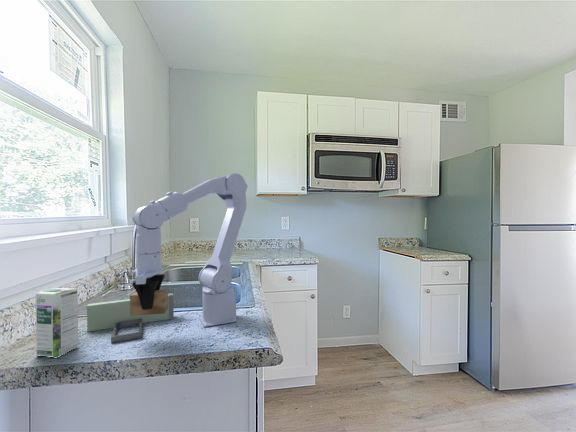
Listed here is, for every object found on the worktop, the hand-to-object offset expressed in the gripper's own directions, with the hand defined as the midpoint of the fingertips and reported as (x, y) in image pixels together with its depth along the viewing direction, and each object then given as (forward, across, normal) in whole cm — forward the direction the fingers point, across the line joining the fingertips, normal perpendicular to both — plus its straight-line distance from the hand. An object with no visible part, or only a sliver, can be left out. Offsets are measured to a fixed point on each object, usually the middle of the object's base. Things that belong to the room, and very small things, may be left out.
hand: (149, 306), depth 75 cm
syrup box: (+9, +3, -19) cm, 21 cm away
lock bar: (+2, 0, 0) cm, 2 cm away
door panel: (+8, -12, -8) cm, 17 cm away
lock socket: (+8, -5, -7) cm, 12 cm away
